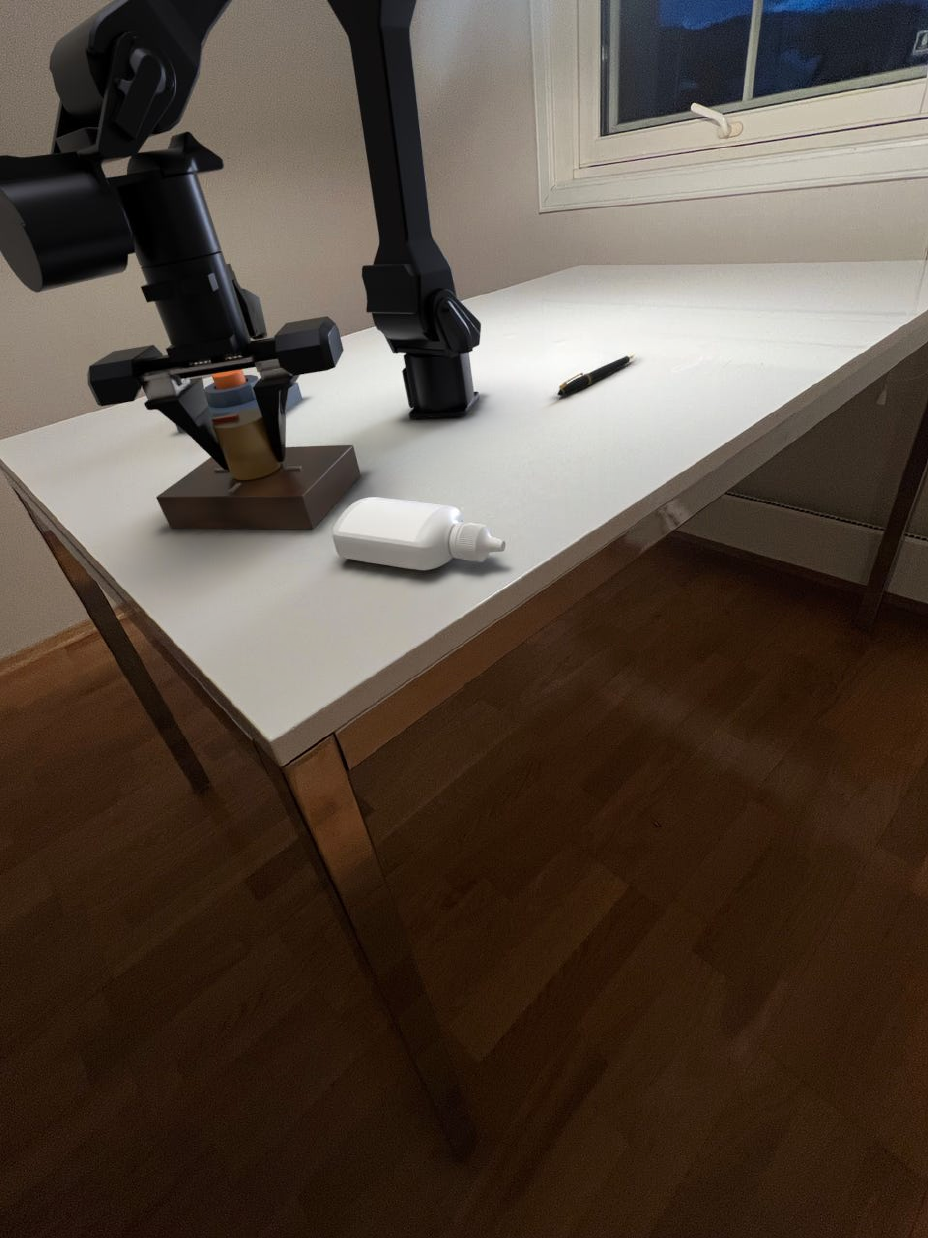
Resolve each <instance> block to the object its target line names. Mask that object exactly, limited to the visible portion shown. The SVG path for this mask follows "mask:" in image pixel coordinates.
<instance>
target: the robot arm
mask: <svg viewBox="0 0 928 1238" xmlns="http://www.w3.org/2000/svg"><path fill="white" fill-rule="evenodd" d="M232 2H233V0H112V1H110V2H109V3H107V4H106V5H104V6H103V7H102V8H101V9H99V10H97V11H96V12H94V13H93V14H91V15H90V16H89V17H88V18H86V19H85V20H84V21H82V22H80V24H78V25H77V26H75V27H74V28H72V29H71V30H69V32H68V33H66V34H64V35H63V36H62V37H61V38H60V39H58V40H57V42H56V43H55V45H54V47H53V49H52V51H51V53H50V56H49V71H50V73H51V75H52V79H53V84H54V88H55V91H56V93H57V96H58V98H59V101H58V107H57V113H56V119H55V125H54V131H53V136H52V143H51V149H50V153H49V154H39V155H32V156H30V155H29V156H16V155H10V154H0V253H1V255H2V257H3V258H4V260H5V261H6V263H7V264H8V266H9V268H10V269H11V271H12V272H13V273H14V274H15V276H16V277H17V278H18V279H19V281H20V282H21V283H22V284H23V285H24V286H25V287H26V288H28V289H29V290H30V291H32V292H34V293H43V292H47V291H51V290H55V289H60V288H63V287H66V286H71V285H72V286H73V285H76V284H79V283H83V282H87V281H92V280H96V279H100V278H105V277H109V276H115V275H117V274H123V272H125V271H126V270H127V268H128V265H129V255H132V254H135V257H136V260H137V261H138V264H139V266H140V269H141V272H142V275H143V277H144V279H145V282H146V283H145V284H143V285H141V286H140V289H141V292H142V294H143V296H144V299H145V301H146V303H151V302H152V303H154V305H155V308H156V310H157V312H158V315H159V318H160V319H161V323H162V324H163V328H164V330H165V332H166V334H167V337H168V341H169V342H170V345H169V346H168V347H166V348H165V351H166V353H167V354H163V353H162V352H161V351H160V350H159V349H158V348H157V346H155V345H154V344H149V345H144V346H138V347H132V348H126V349H120V350H114V351H112V352H110V353H108V354H107V355H106V356H103V357H102V358H100V359H98V360H97V361H95V362H94V363H92V364H90V365H89V366H88V370H87V375H86V377H87V386H88V388H89V390H90V392H91V394H92V397H93V398H94V400H95V403H96V404H97V406H98V407H106V406H113V405H119V404H124V403H125V404H126V403H132V402H135V401H137V399H138V397H139V394H140V393H141V391H143V392H144V394H145V397H146V401H145V402H144V403H143V405H144V407H145V409H146V410H147V411H154V410H155V411H159V412H160V413H161V414H162V415H163V416H165V417H166V418H167V419H168V420H169V421H171V422H172V423H173V424H176V425H177V426H178V427H180V428H181V429H182V430H183V431H184V432H186V433H185V434H187V435H188V436H189V437H190V438H191V439H192V440H193V441H194V442H195V443H196V444H197V445H198V446H199V447H200V448H201V449H202V450H203V451H204V452H205V453H206V454H207V455H208V456H209V457H212V458H213V459H214V460H215V461H216V462H217V463H218V464H219V465H220V466H221V467H222V468H223V469H224V470H229V468H228V465H227V463H226V460H225V458H224V455H223V453H222V450H221V447H220V445H219V442H218V440H217V437H216V434H215V432H214V429H213V427H212V424H213V422H212V418H213V416H212V413H211V411H210V409H209V407H208V404H207V402H206V397H205V391H204V388H205V386H204V380H203V376H209V375H213V374H216V373H222V372H228V371H234V370H241V369H242V370H247V369H252V368H253V369H254V368H255V369H256V372H257V373H259V376H260V378H259V380H258V382H257V383H256V384H255V385H254V387H253V391H254V394H255V397H256V400H257V403H258V406H259V409H260V412H261V416H262V419H263V422H264V425H265V428H266V431H267V434H268V437H269V441H270V444H271V447H272V449H273V451H274V453H275V456H276V458H277V460H278V461H279V462H283V461H284V459H285V455H286V447H287V444H286V443H287V412H286V407H287V399H288V392H289V388H290V387H292V386H293V385H294V384H295V383H296V382H297V380H298V379H299V378H300V376H302V375H309V374H314V373H321V372H327V371H329V370H332V369H335V368H336V367H337V365H338V363H339V361H340V358H341V357H342V355H343V352H344V346H343V342H342V338H341V334H340V329H339V327H338V325H337V323H336V322H335V321H334V320H332V318H330V317H329V316H321V317H314V318H308V319H301V320H296V321H290V322H286V323H284V325H283V326H282V327H281V328H280V329H279V330H278V331H277V332H276V334H274V336H273V337H268V332H267V327H266V322H265V319H264V314H263V308H262V304H261V299H260V297H259V296H258V295H257V294H255V293H253V292H251V291H250V290H248V289H246V288H243V287H241V285H240V284H239V282H238V280H237V277H236V273H235V271H234V270H233V267H232V265H231V263H227V262H226V258H225V255H224V252H223V250H222V249H223V248H222V247H221V242H220V240H219V237H218V234H217V230H216V228H215V225H214V222H213V219H212V215H211V213H210V209H209V206H208V203H207V200H206V197H205V194H204V190H203V188H202V185H201V182H200V178H199V176H200V175H205V174H209V173H214V172H218V171H222V170H223V169H224V168H225V162H224V159H223V158H222V157H221V156H220V155H219V154H217V153H215V152H214V151H212V150H211V149H210V148H208V147H206V146H204V145H203V144H202V143H201V142H200V141H199V140H197V138H196V137H195V136H194V135H193V133H192V132H190V131H183V132H180V133H176V134H174V135H172V136H171V137H170V142H169V144H168V147H167V148H164V149H155V150H148V151H141V149H142V148H143V146H144V145H145V143H146V142H147V140H148V138H151V137H154V136H158V135H161V134H164V133H167V132H170V131H171V130H173V129H174V128H175V127H176V126H177V125H178V124H180V122H181V120H182V119H183V117H184V114H185V112H186V110H187V107H188V104H189V102H190V100H191V97H192V95H193V92H194V90H195V88H196V85H197V83H198V80H199V78H200V74H201V68H202V59H203V50H204V47H205V45H206V42H207V40H208V37H209V35H210V33H211V31H212V30H213V29H214V27H215V26H216V25H217V23H218V22H219V20H220V18H222V16H223V15H224V13H225V11H226V10H227V9H228V8H229V6H230V5H231V3H232ZM326 2H327V3H328V6H329V7H330V9H331V10H332V12H333V14H334V15H335V17H336V18H337V20H338V22H339V24H340V25H341V28H342V30H343V31H344V32H345V34H346V36H347V38H348V42H349V46H350V47H349V48H350V53H351V60H352V67H353V73H354V74H353V75H354V80H355V87H356V93H357V101H358V106H359V114H360V120H361V127H362V133H363V140H364V141H363V142H364V145H365V147H364V148H365V154H366V161H367V167H368V174H369V181H370V186H371V187H370V188H371V194H372V201H373V207H374V213H375V220H376V227H377V234H378V246H377V250H376V253H375V257H374V260H373V264H364V265H362V267H361V279H362V282H363V285H364V288H365V294H366V308H365V309H366V310H365V312H366V313H367V314H371V316H372V320H373V324H374V326H375V327H376V329H377V331H379V332H381V334H383V336H384V338H385V340H386V342H387V345H388V347H389V348H390V351H391V352H392V354H403V360H404V366H405V367H404V368H403V369H402V370H401V373H402V379H403V383H404V388H405V393H406V399H407V404H408V407H409V408H410V409H411V410H410V411H409V412H408V418H409V419H428V418H430V419H431V418H447V417H448V418H449V417H451V418H452V417H463V416H466V415H468V413H469V411H470V410H471V408H472V407H473V406H474V404H475V403H476V402H477V400H478V399H479V397H480V392H479V391H475V390H474V381H473V374H472V366H471V360H470V359H471V358H470V353H471V352H473V351H474V348H476V347H478V346H480V344H481V333H482V323H481V321H480V320H479V319H478V318H477V317H476V315H474V313H472V312H471V310H469V309H468V307H467V306H466V305H465V304H464V303H463V302H462V301H461V300H460V299H459V298H458V295H457V290H456V284H455V280H454V276H453V270H452V267H451V265H450V263H449V261H448V259H447V258H446V257H445V255H444V254H443V251H442V250H441V248H440V247H439V245H438V242H436V240H435V238H434V235H433V232H432V224H431V216H430V205H429V197H428V188H427V180H426V169H425V160H424V152H423V142H422V134H421V133H422V132H421V124H420V115H419V106H418V105H419V104H418V96H417V88H416V78H415V69H414V60H413V51H412V42H411V26H412V22H413V18H414V14H415V11H416V7H417V3H418V0H326ZM127 158H129V160H128V162H127V166H126V174H122V175H115V176H108V177H107V175H106V174H105V170H104V168H103V165H106V164H110V163H113V162H117V161H120V160H124V159H127ZM251 339H253V340H251ZM176 425H175V426H176Z"/></svg>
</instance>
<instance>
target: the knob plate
mask: <svg viewBox="0 0 928 1238" xmlns="http://www.w3.org/2000/svg"><path fill="white" fill-rule="evenodd" d="M361 476H362V473H361V469H360V467H359V463H358V458H357V454H356V451H355V447H354V445H353V444H335V445H307V446H304V445H303V446H302V445H301V446H286V455H285V459H284V461H283V462H282V466H281V467H280V468H279V469H278V470H277V471H275V472H273V473H271V474H269V475H267V476H264V477H261V478H257V479H252V480H236V479H234V478H233V477H232V476H231V473H230V471H229V470H224V469H223V468H222V467H221V466H220V465H219V464H218V463H217V462H216V461H215V460H214V459H213V458H212V457H211V456H209V458H207V459H206V460H205V461H203V462H202V463H201V464H199V465H198V466H196V467H195V468H194V469H192V470H191V471H190V472H188V473H187V474H186V475H184V476H183V477H182V478H180V479H179V480H178V481H176V482H174V484H172V485H171V486H169V487H168V488H167V489H165V490H164V491H162V492H161V493H160V494H157V496H156V498H155V499H156V500H157V501H156V502H157V503H158V505H159V507H160V509H161V511H162V513H163V515H164V517H165V520H166V521H167V524H168V526H169V528H170V529H213V530H215V529H222V530H225V529H227V530H314V529H315V528H316V527H317V526H318V524H319V523H320V522H321V521H322V520H323V519H324V518H325V516H326V515H328V513H329V512H330V511H331V510H332V509H333V508H334V506H335V505H336V504H337V503H338V502H339V501H340V500H341V499H342V497H343V496H344V495H345V494H346V493H347V492H348V491H349V490H350V488H351V487H352V486H353V485H354V484H355V483H356V482H357V480H358V479H359V478H360V477H361Z"/></svg>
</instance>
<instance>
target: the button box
mask: <svg viewBox="0 0 928 1238" xmlns="http://www.w3.org/2000/svg"><path fill="white" fill-rule="evenodd" d="M244 376H245V379H246V383H244V384H242V385H239V386H236V387H232V388H228V389H218V390H217V389H216V386H215V383H214V382H212V383H210V384H208V385H207V386H204V391H205V397H206V402H207V404H208V407H209V409H210V411H211V413H212V416H213V417H219V416H225V415H227V414H230V413H233V412H237V411H241V410H247V409H259V406H258V403H257V400H256V397H255V394H254V391H253V387H254V385H255V384H256V383H257V382H258V380H259V379H260V378H259V376H258V375H254V374H244ZM302 401H303V396H302V393H301V389H300V385H299V383H298V382H297V381H296V382H295V384H294V385H293V386H292V387H290V388H289V392H288V399H287V407H286V413H287V412H288V411H290V410H291V409H292V408H293V407H295V406H296V405H297V404H299V403H300V402H302ZM174 424H175V423H174ZM174 426H175V427H176V430H177V432H178V434H184V433H185V434H187V433H186V432H184V431H183V430H182V429H181V428H180V427H178V426H177V425H176V424H175V425H174Z"/></svg>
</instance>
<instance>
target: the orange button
mask: <svg viewBox="0 0 928 1238" xmlns="http://www.w3.org/2000/svg"><path fill="white" fill-rule="evenodd" d="M244 375H245V374H244V369H241V370H234V371H228V372H222V373H216V374H211V378H212V381H213V383H215V386H216V389H217V390H218V389H228V388H232V387H236V386H239V385H242V384H244V383H246V379H245V376H244Z"/></svg>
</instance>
